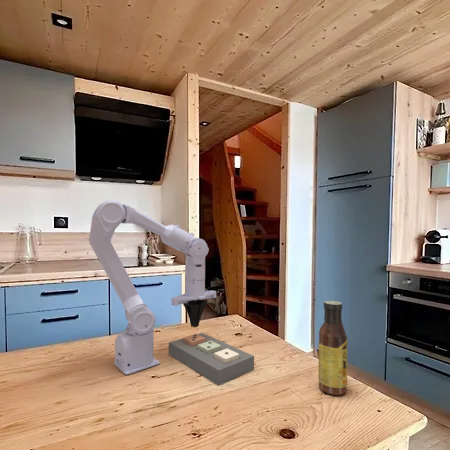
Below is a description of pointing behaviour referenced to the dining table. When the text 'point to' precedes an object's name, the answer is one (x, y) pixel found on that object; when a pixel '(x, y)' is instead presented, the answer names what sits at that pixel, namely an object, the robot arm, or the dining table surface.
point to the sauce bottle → (332, 351)
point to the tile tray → (211, 360)
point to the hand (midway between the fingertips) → (194, 326)
